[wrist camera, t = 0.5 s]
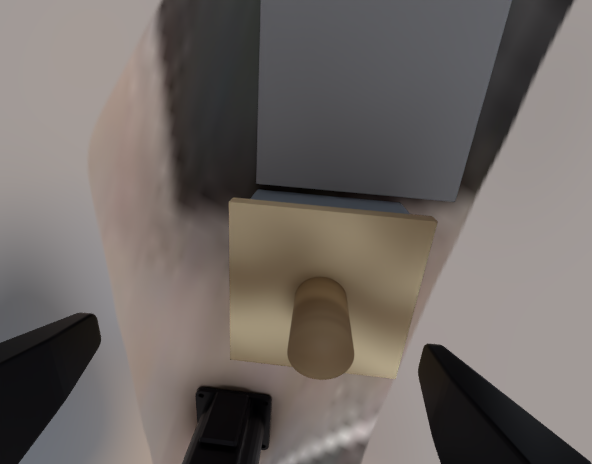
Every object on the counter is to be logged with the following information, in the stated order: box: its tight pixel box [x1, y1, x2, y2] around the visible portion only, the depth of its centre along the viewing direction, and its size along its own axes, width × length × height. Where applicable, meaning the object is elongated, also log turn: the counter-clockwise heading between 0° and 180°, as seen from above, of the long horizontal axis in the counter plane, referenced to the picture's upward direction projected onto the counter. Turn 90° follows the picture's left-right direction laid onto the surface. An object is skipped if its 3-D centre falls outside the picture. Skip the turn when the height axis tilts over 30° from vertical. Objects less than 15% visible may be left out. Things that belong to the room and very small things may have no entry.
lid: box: [229, 198, 437, 380], centre depth 15 cm, size 10×10×5 cm
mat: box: [256, 0, 512, 202], centre depth 16 cm, size 12×12×1 cm
